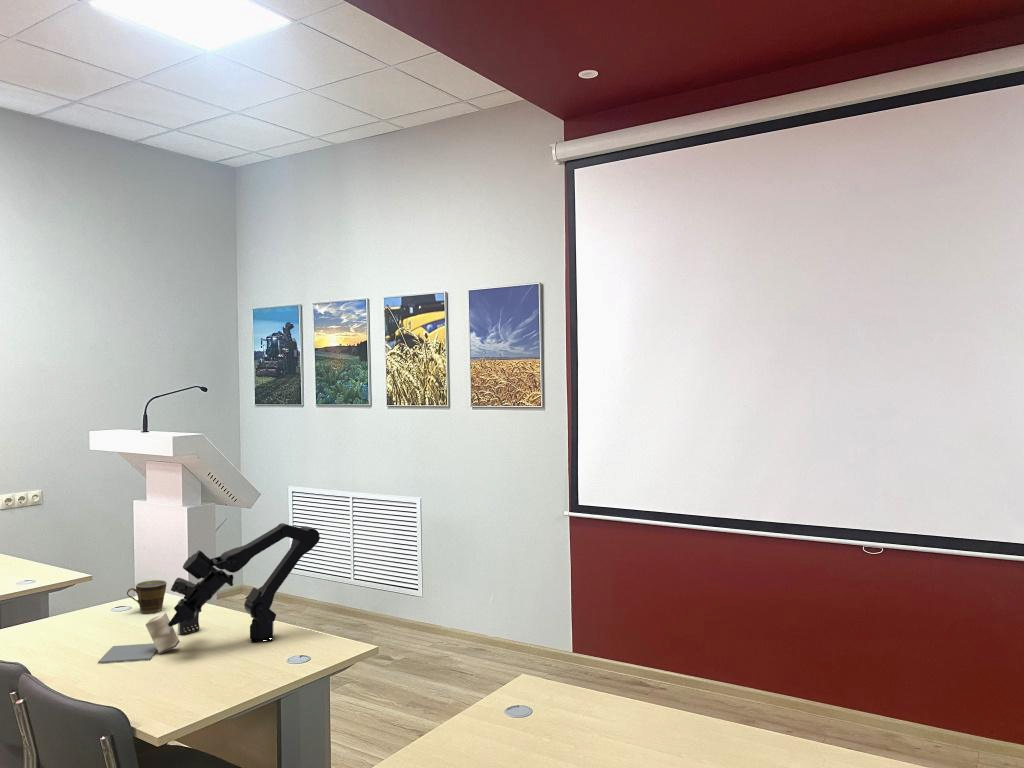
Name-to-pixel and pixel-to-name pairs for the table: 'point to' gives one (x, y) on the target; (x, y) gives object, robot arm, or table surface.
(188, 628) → the battery charger
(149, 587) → the ceramic cup
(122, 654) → the mat
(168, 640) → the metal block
